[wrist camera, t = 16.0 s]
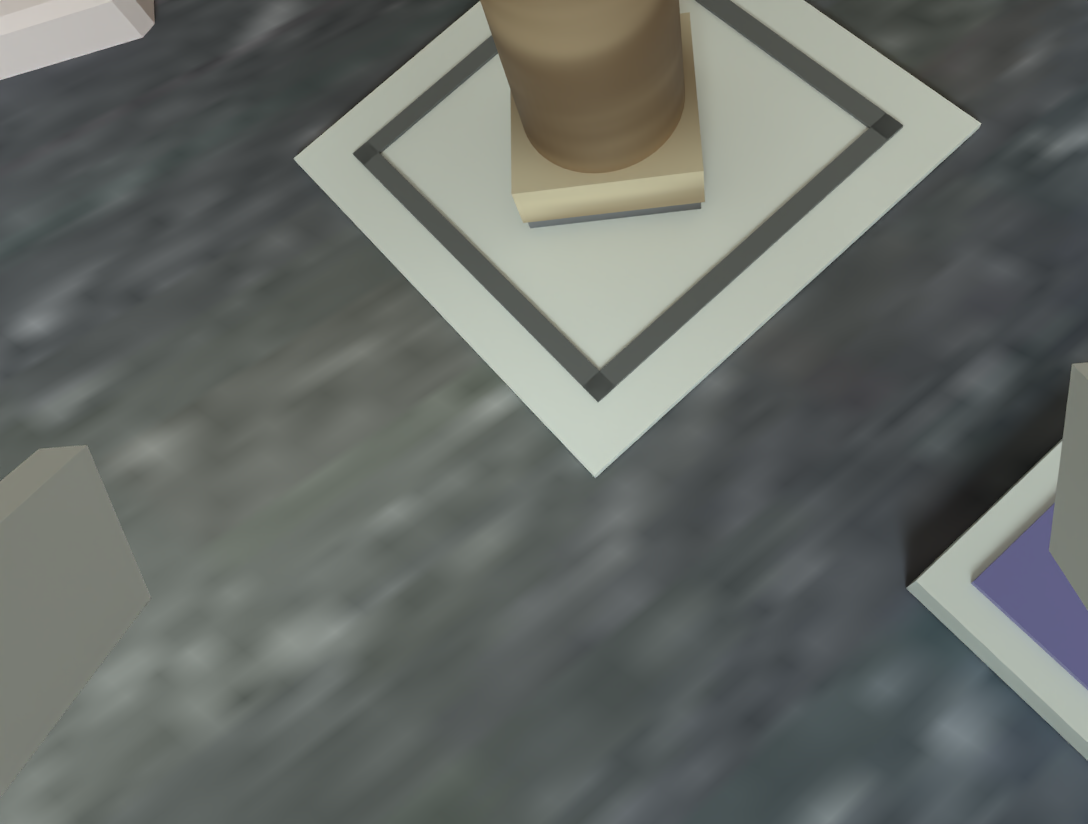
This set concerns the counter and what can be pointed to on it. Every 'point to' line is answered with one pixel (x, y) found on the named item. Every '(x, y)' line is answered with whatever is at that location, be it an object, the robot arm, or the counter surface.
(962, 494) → the counter surface
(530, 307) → the sheet
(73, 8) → the soap bar
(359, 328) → the counter surface
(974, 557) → the ink pad
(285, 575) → the counter surface
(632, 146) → the stamp
